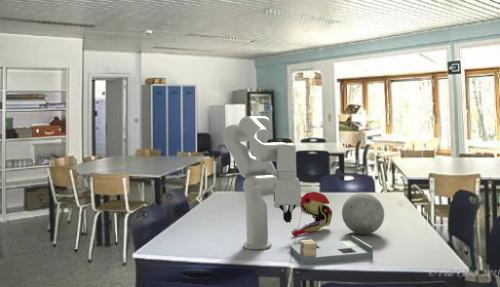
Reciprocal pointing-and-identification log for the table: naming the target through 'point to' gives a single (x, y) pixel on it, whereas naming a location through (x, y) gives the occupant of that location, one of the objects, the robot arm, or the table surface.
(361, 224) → the decorative sphere
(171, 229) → the table surface
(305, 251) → the beech cube
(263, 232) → the robot arm
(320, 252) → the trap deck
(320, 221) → the toy
